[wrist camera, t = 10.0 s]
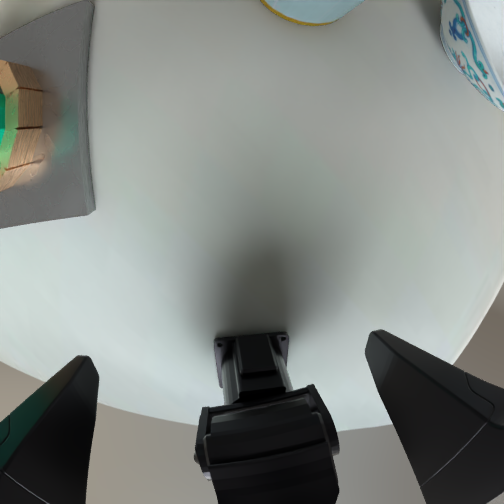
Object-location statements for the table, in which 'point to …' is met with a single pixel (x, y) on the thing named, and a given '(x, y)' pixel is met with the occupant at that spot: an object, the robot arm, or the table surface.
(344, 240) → the table surface
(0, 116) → the candle
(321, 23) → the bottle
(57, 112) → the square plate with hole
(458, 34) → the chinaware
